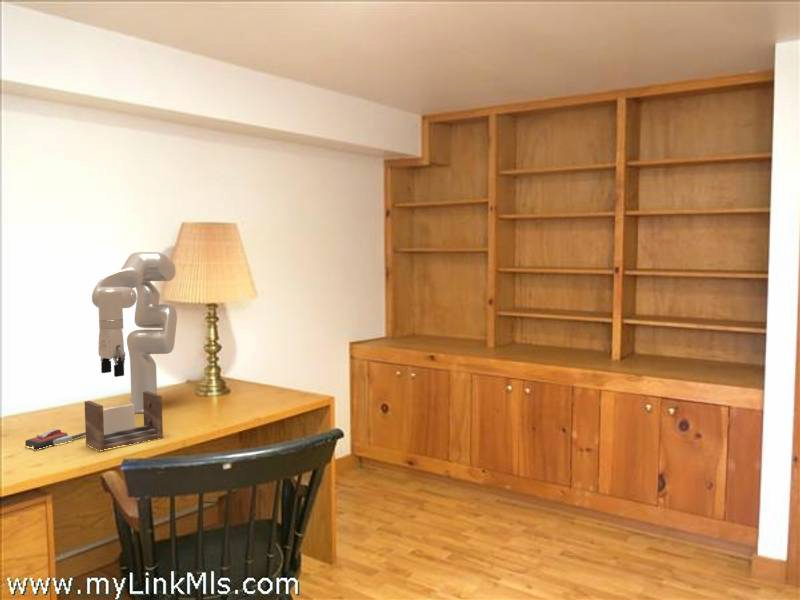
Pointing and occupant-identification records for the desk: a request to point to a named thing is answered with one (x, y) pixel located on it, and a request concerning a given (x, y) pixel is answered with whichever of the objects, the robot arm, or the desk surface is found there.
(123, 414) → the door panel
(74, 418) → the desk surface
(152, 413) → the brown wooden book rack
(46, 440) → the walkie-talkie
